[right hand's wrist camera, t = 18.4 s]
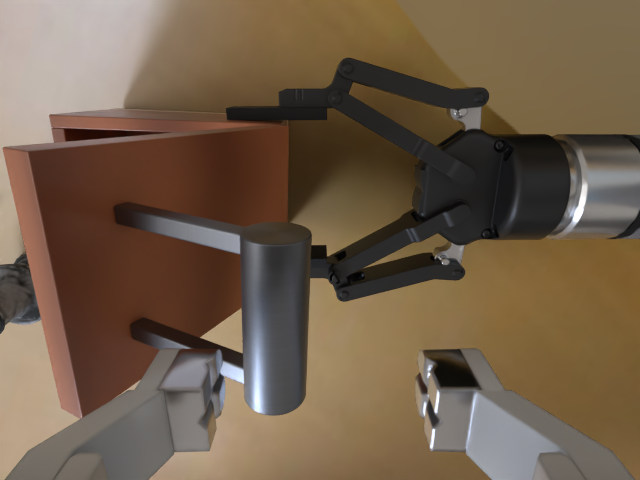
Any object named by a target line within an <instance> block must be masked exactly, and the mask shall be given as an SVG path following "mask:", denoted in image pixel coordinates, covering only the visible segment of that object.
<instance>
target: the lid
mask: <svg viewBox="0 0 640 480" xmlns="http://www.w3.org/2000/svg"><path fill="white" fill-rule="evenodd" d="M3 152H4V157H5V161H6V166H7V170H8V174H9V179H10V183H11V188H12V192H13V197H14V201H15V205H16V210H17V214H18V219H19V223H20V228H21V232H22V236H23V241H24V245H25V250H26V254H27V259H28V263H29V267H30V272H31V276H32V281H33V285H34V290H35V294H36V298H37V303H38V307H39V312H40V316H41V321H42V325H43V329H44V334H45V338H46V343H47V347H48V352H49V356H50V360H51V365H52V369H53V374H54V378H55V383H56V387H57V391H58V396H59V400H60V405H61V408H62V409H64V410H65V411H67V412H69V413H71V414H73V415H74V416H76V417H78V418H80V419H82V418H83V417H85V416H87V415H88V414H90V413H92V412H93V411H95V410H97V409H98V408H100V407H101V406H103V405H105V404H106V403H108V402H110V401H111V400H113V399H114V398H115V397H117V396H118V395H120V394H121V393H122V392H124V391H125V390H127V389H128V388H129V387H131V386H132V385H134V384H135V383H136V382H138V381H139V380H141V379H142V377H143V376H144V374H145V372H146V371H147V369H148V368H149V366H150V364H151V363H152V361H153V360H154V358H155V356H156V355H157V353H158V352H159V351H160V350H161V349H163V348H180V349H220V351H221V352H222V360H223V364H222V367H221V370H220V373H221V374H222V375H223V376H225V377H227V378H230V379H232V380H235V381H237V382H240V383H242V384H244V397H245V401H246V403H247V404H248V405H249V407H250V408H251V409H253V410H254V411H256V412H258V413H261V414H265V415H283V414H286V413H289V412H291V411H293V410H295V409H296V408H298V407H299V406H300V405H301V404H302V402H303V401H304V399H305V395H306V375H307V348H308V321H309V294H310V267H311V240H312V234H311V231H310V230H309V229H307V228H306V227H304V226H301V225H298V224H293V223H287V222H288V155H289V126H284V125H272V124H270V125H258V126H246V127H234V128H223V129H211V130H199V131H187V132H175V133H164V134H152V135H140V136H128V137H116V138H104V139H93V140H81V141H69V142H57V143H45V144H34V145H22V146H10V147H3ZM240 308H242V335H243V354H242V353H239V352H237V351H234V350H231V349H229V348H226V347H223V346H221V345H218V344H215V343H212V342H210V341H207V340H204V339H202V338H200V337H201V336H202V335H204V334H205V333H207V332H208V331H210V330H211V329H212V328H214V327H215V326H217V325H218V324H219V323H221V322H222V321H224V320H225V319H226V318H228V317H229V316H231V315H232V314H233V313H235V312H236V311H238V310H239V309H240Z"/></svg>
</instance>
